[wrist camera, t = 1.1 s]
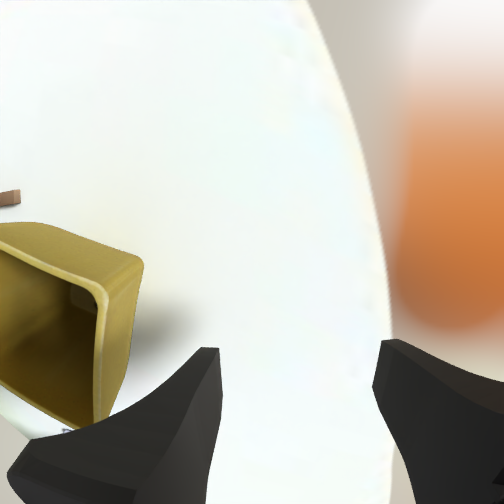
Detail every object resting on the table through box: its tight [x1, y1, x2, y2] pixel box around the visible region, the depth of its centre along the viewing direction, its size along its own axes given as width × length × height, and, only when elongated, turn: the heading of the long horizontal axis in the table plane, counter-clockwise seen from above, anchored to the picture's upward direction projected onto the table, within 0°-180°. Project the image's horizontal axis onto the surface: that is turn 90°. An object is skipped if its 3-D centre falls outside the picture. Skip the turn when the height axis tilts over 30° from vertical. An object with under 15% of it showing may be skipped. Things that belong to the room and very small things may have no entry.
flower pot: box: [0, 222, 144, 430], centre depth 15 cm, size 9×9×9 cm
